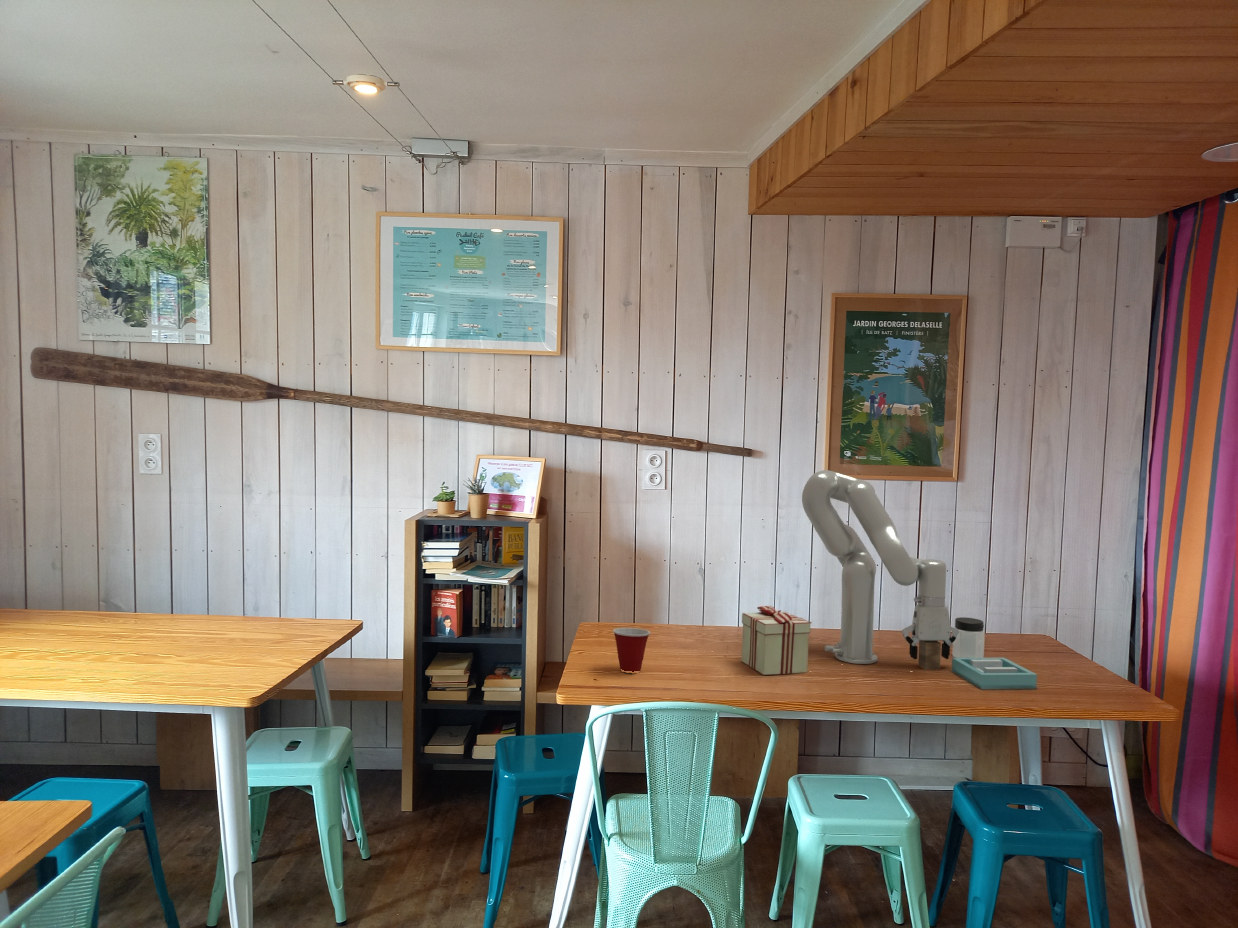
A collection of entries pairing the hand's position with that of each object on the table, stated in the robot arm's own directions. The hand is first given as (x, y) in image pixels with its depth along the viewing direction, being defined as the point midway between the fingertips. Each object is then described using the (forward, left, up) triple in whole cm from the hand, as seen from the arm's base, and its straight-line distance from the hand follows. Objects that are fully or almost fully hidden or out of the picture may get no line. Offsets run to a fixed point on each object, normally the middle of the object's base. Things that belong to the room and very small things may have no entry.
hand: (929, 657), depth 235 cm
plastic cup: (-90, -2, -3) cm, 90 cm away
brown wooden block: (0, 0, -3) cm, 3 cm away
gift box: (-46, +2, -3) cm, 46 cm away
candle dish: (+13, -12, -3) cm, 18 cm away
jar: (+17, +9, -3) cm, 19 cm away
